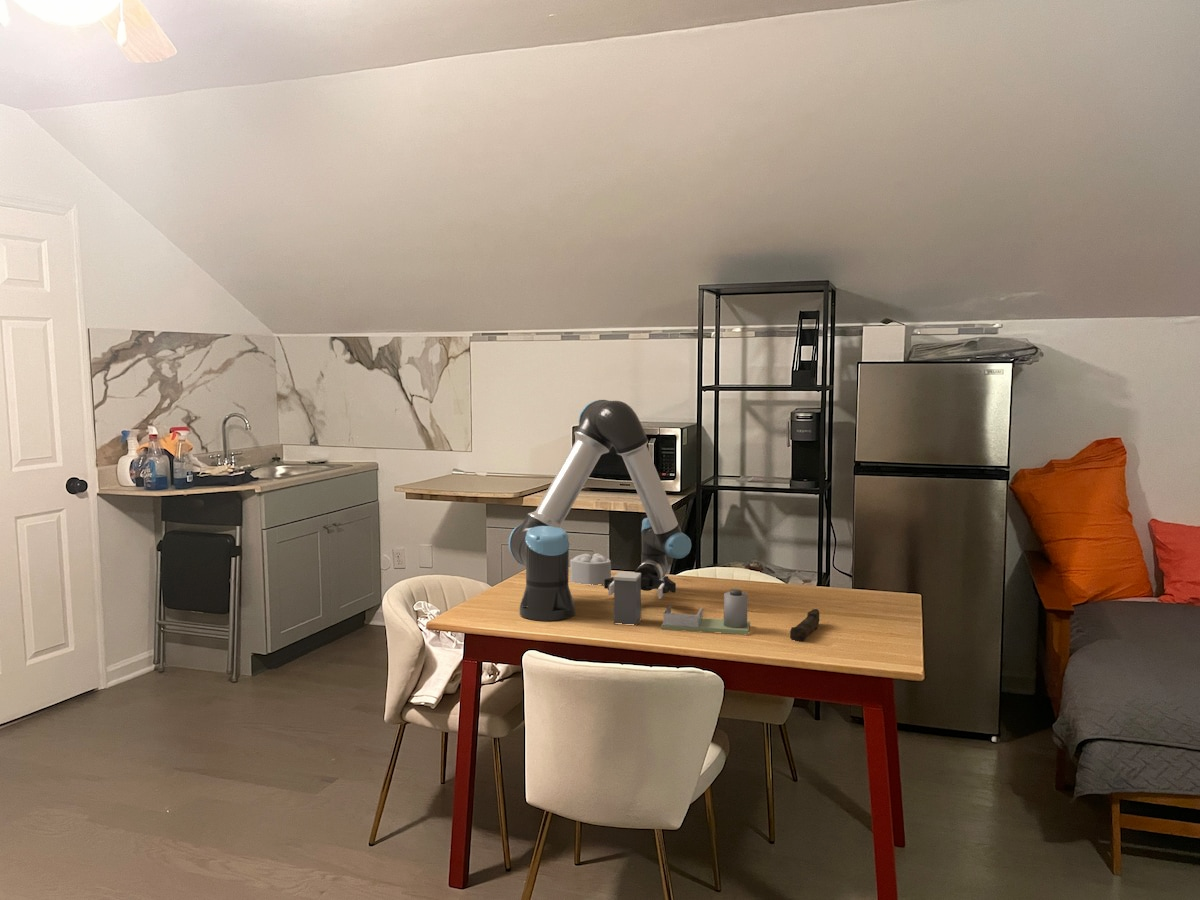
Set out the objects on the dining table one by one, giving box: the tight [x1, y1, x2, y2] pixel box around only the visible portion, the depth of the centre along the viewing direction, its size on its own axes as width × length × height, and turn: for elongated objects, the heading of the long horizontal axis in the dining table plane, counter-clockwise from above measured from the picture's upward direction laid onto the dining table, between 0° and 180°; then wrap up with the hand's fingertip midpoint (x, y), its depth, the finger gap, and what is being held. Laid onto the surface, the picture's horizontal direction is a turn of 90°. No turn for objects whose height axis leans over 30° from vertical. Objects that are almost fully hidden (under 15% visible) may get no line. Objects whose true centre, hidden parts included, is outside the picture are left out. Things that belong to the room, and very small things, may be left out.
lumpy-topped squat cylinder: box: [569, 553, 612, 585], centre depth 278 cm, size 10×13×9 cm
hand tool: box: [789, 608, 820, 643], centre depth 221 cm, size 19×4×5 cm, turn 149°
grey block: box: [613, 571, 642, 626], centre depth 229 cm, size 6×7×13 cm
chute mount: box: [663, 604, 704, 627], centre depth 226 cm, size 9×8×3 cm
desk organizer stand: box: [661, 588, 751, 636], centre depth 225 cm, size 22×9×10 cm, turn 76°
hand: (634, 592), depth 234 cm, fingers open, 13 cm apart
